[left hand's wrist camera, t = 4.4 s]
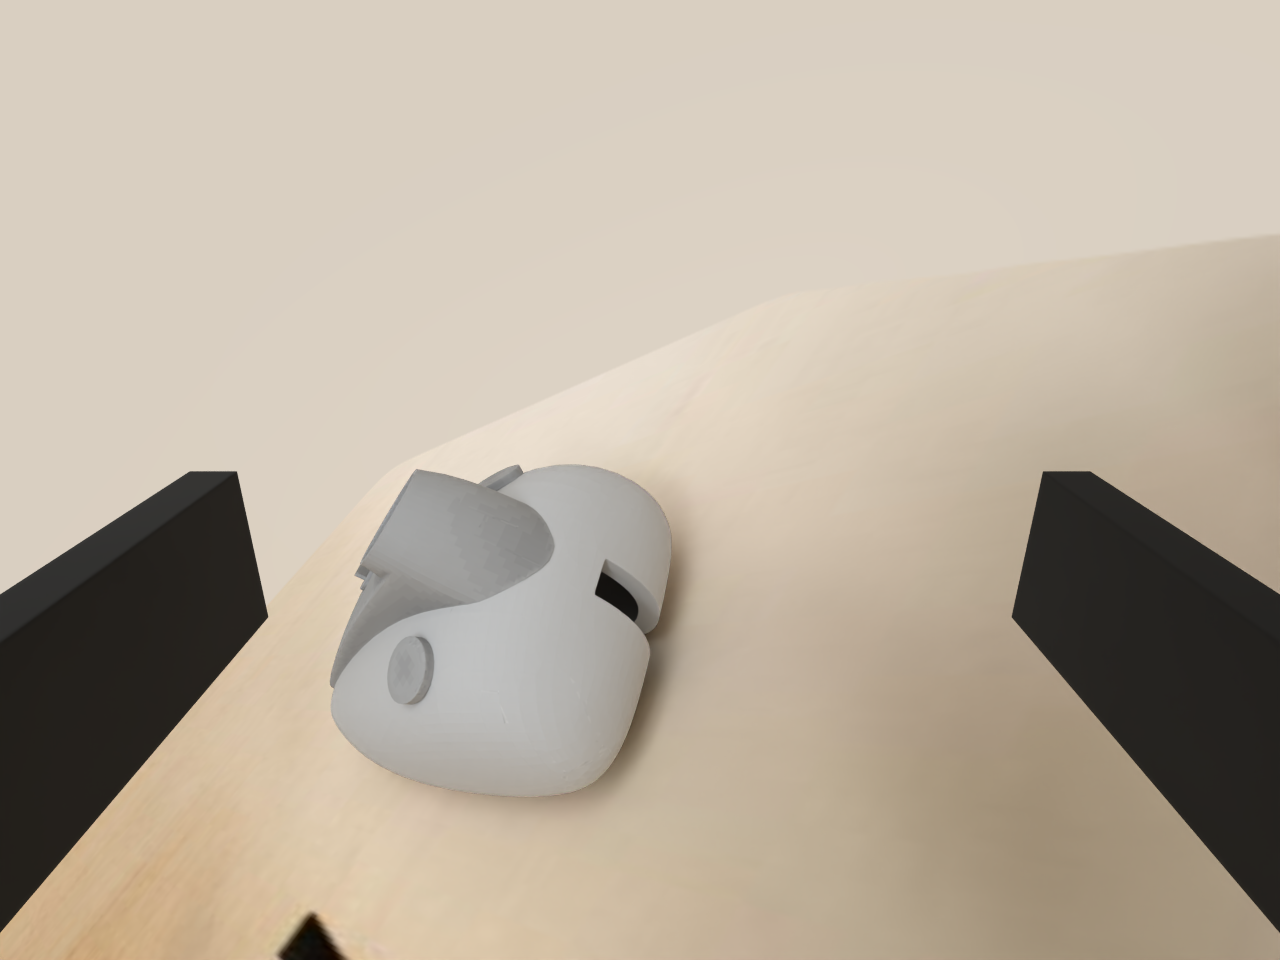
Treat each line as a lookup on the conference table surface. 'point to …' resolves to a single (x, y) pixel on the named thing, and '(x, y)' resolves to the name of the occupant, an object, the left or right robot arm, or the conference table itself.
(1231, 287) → the conference table surface
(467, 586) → the projector
